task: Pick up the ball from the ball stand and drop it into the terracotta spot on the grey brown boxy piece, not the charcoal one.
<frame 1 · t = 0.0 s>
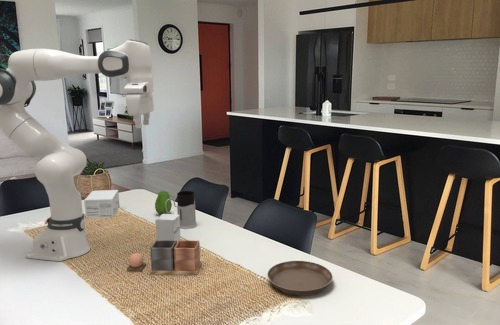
hand: (142, 126, 158), 48 cm above the table, tool pointing down, fingers open, 8 cm apart
supplement box: (169, 248, 172), on the table
plant saucer: (299, 284, 142), on the table
avocado: (163, 215, 213), on the table
supplement box 2: (103, 213, 217), on the table
ball stand: (136, 268, 154), on the table
ball: (136, 260, 153), point 3 cm above the table, touching ball stand
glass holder: (181, 227, 195), on the table
grey brown boxy piece: (176, 268, 153), on the table
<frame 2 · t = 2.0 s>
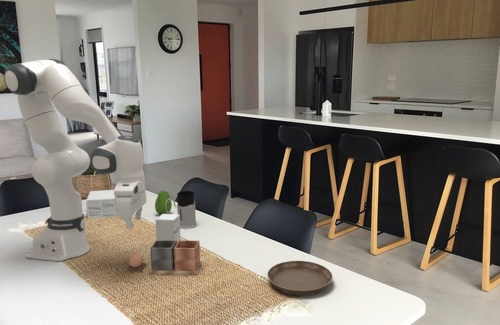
hand: (134, 223, 150), 16 cm above the table, tool pointing down, fingers open, 8 cm apart
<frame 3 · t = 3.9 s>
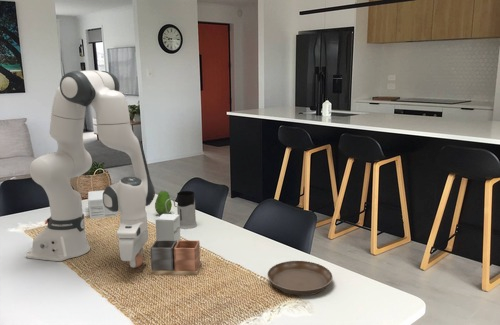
hand: (136, 262, 153), 2 cm above the table, tool pointing down, fingers closed on ball, 5 cm apart
ball: (136, 260, 153), point 3 cm above the table, touching ball stand, gripper
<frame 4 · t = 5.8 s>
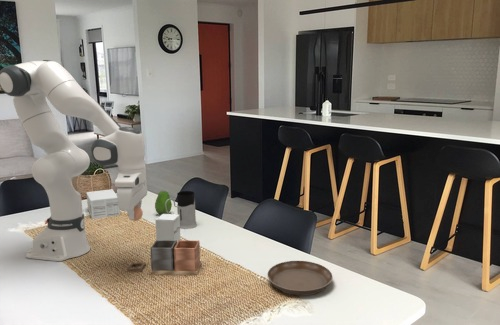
hand: (135, 215, 150), 19 cm above the table, tool pointing down, fingers closed on ball, 5 cm apart
ball: (135, 213, 150), point 20 cm above the table, touching gripper
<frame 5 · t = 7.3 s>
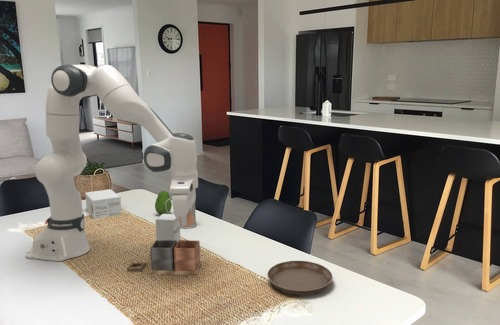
hand: (186, 221, 149), 17 cm above the table, tool pointing down, fingers closed on ball, 5 cm apart
ball: (186, 219, 149), point 18 cm above the table, touching gripper
when the fingers open (13 cm above the table, at t = 8.2 s): ball drops 10 cm, resting on grey brown boxy piece.
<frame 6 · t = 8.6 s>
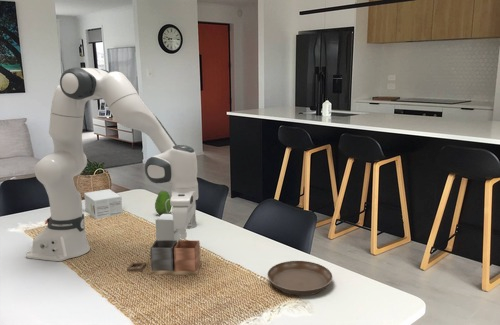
hand: (186, 233, 150), 13 cm above the table, tool pointing down, fingers open, 8 cm apart
ball: (187, 259, 152), point 3 cm above the table, touching grey brown boxy piece
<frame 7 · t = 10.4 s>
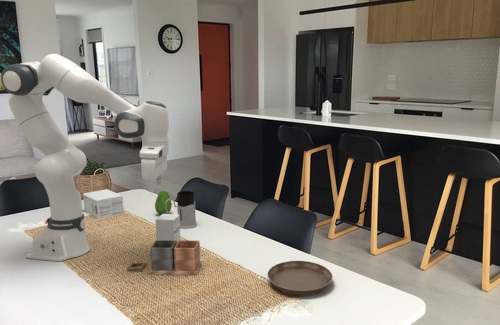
hand: (155, 187, 155), 27 cm above the table, tool pointing down, fingers open, 8 cm apart
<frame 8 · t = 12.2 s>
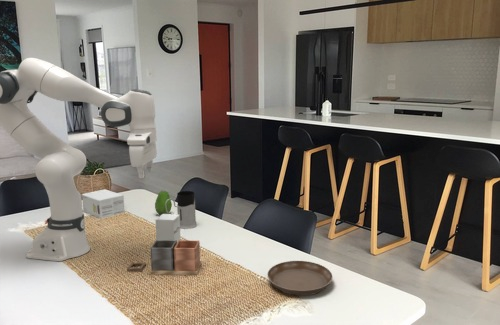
hand: (145, 174, 157), 31 cm above the table, tool pointing down, fingers open, 8 cm apart
at the end: ball 0.2 cm from the target spot on the grey brown boxy piece, point 3.5 cm above the grey brown boxy piece's base; the gripper is holding nothing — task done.
